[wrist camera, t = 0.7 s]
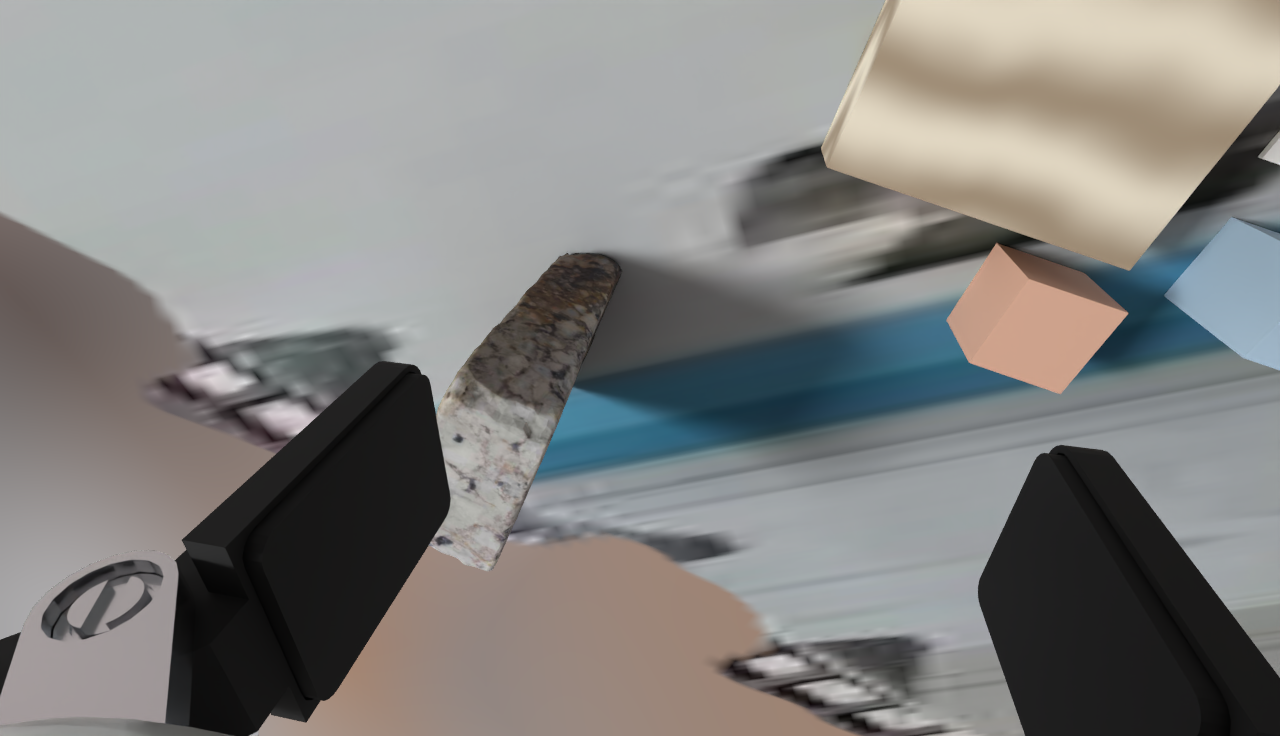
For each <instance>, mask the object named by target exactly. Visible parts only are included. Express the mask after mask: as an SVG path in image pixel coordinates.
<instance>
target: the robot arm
mask: <svg viewBox="0 0 1280 736" xmlns="http://www.w3.org/2000/svg"><path fill="white" fill-rule="evenodd" d="M450 502H451V497H450V490H449V485H448V479H447V474H446V468H445V462H444V457H443V451H442V446H441V440H440V435H439V429H438V424H437V418H436V413H435V407H434V402H433V396H432V391H431V385H430V381H429V379H428V377H427V376H425V375H421V372H420V370H419V369H418V367H417V366H415V365H411V364H402V363H394V362H386V361H381V362H378V363H376V364H375V365H374V366H372V367H371V368H370V369H369V370H368V371H367V372H366V373H365V374H364V375H363V376H361V377H360V378H359V379H358V380H357V381H356V382H355V383H354V384H353V385H352V386H350V387H349V388H348V389H347V390H346V391H345V392H344V393H343V394H342V395H341V396H339V397H338V398H337V399H336V400H335V401H334V402H333V403H332V404H331V405H330V406H328V407H327V408H326V409H325V410H324V411H323V412H322V413H321V414H320V415H319V416H318V417H316V418H315V419H314V420H313V421H312V422H311V423H310V424H309V425H308V426H307V427H305V428H304V429H303V430H302V431H301V432H300V433H299V434H298V435H297V436H296V437H294V438H293V439H292V440H291V441H290V442H289V443H288V444H287V445H286V446H285V447H283V448H282V449H281V450H280V451H279V452H278V453H277V454H276V455H275V456H274V457H273V458H271V459H270V460H269V461H268V462H267V463H266V464H265V465H264V466H263V467H261V468H260V469H259V470H258V471H257V472H256V473H255V474H254V475H253V476H252V477H250V479H248V480H247V481H246V482H245V483H244V484H243V485H242V486H241V487H240V488H238V489H237V490H236V491H235V492H234V493H233V494H232V495H231V496H230V497H229V498H227V499H226V500H225V501H224V502H223V503H222V504H221V505H220V506H219V507H217V509H215V510H214V511H213V512H212V513H211V514H210V515H209V516H208V517H207V518H205V520H203V521H202V522H201V523H200V524H199V525H198V526H197V527H196V528H194V529H193V530H192V531H191V532H190V533H189V534H188V535H187V536H186V537H185V538H183V539H182V541H183V543H184V545H185V547H186V549H187V550H186V551H185V552H184V553H182V554H181V555H180V556H179V557H178V558H177V559H176V560H175V561H174V560H173V559H172V558H171V557H170V556H169V555H168V554H165V553H161V552H157V551H154V550H149V551H148V550H144V551H131V552H126V553H122V554H117V555H113V556H110V557H107V558H105V559H102V560H100V561H97V562H94V563H92V564H89V565H88V566H86V567H84V568H82V569H80V570H79V571H77V572H75V573H73V574H71V575H69V576H68V577H66V578H65V579H64V580H62V581H61V582H60V583H58V584H57V585H56V586H54V587H53V588H51V589H50V590H49V591H48V592H47V593H46V594H45V595H44V596H43V597H42V598H41V599H40V600H39V601H38V602H37V603H36V604H35V606H34V607H33V608H32V610H31V611H30V613H29V615H28V617H27V619H26V621H25V623H24V625H23V628H22V631H21V632H20V633H17V634H15V635H12V636H9V637H6V638H4V639H1V640H0V736H258V730H259V728H260V727H261V725H262V724H263V723H264V721H265V720H266V718H267V717H268V716H269V714H270V713H271V715H274V716H279V717H283V718H288V719H292V720H297V721H302V722H307V721H308V719H309V718H310V716H311V714H312V713H313V711H314V710H315V708H316V707H317V705H318V704H319V702H320V700H323V701H325V700H327V699H329V698H330V697H331V696H332V695H334V693H335V692H336V691H337V689H338V688H339V686H340V685H341V683H342V681H343V680H344V678H345V677H346V675H347V674H348V672H349V670H350V669H351V667H352V666H353V664H354V662H355V661H356V659H357V658H358V656H359V655H360V653H361V651H362V650H363V648H364V647H365V645H366V644H367V642H368V640H369V639H370V637H371V636H372V634H373V632H374V631H375V629H376V628H377V626H378V625H379V623H380V621H381V620H382V618H383V617H384V615H385V613H386V612H387V610H388V608H389V607H390V606H391V604H392V602H393V601H394V599H395V598H396V596H397V594H398V593H399V591H400V590H401V588H402V587H403V585H404V583H405V582H406V580H407V579H408V577H409V576H410V574H411V572H412V571H413V569H414V568H415V566H416V564H417V563H418V561H419V560H420V558H421V557H422V555H423V553H424V552H425V550H426V549H427V547H428V546H429V544H430V542H431V541H432V539H433V538H434V536H435V534H436V533H437V531H438V530H439V528H440V527H441V525H442V523H443V522H444V520H445V519H446V517H447V515H448V512H449V508H450ZM978 598H979V603H980V607H981V610H982V612H983V615H984V618H985V621H986V624H987V627H988V630H989V633H990V635H991V638H992V641H993V644H994V647H995V650H996V653H997V656H998V659H999V661H1000V664H1001V667H1002V670H1003V673H1004V676H1005V679H1006V682H1007V684H1008V687H1009V690H1010V693H1011V696H1012V699H1013V702H1014V705H1015V707H1016V710H1017V713H1018V716H1019V719H1020V722H1021V725H1022V728H1023V730H1024V733H1025V736H1280V678H1279V676H1278V675H1277V674H1276V672H1275V671H1274V670H1273V668H1272V667H1271V666H1270V664H1269V663H1268V662H1267V660H1266V659H1265V658H1264V656H1263V655H1262V654H1261V652H1260V651H1259V650H1258V648H1257V647H1256V646H1255V644H1254V643H1253V642H1252V640H1251V639H1250V638H1249V636H1248V635H1247V634H1246V632H1245V631H1244V630H1243V628H1242V627H1241V626H1240V625H1239V623H1238V622H1237V621H1236V619H1235V618H1234V617H1233V615H1232V614H1231V613H1230V611H1229V610H1228V609H1227V607H1226V606H1225V605H1224V603H1223V602H1222V601H1221V599H1220V598H1219V597H1218V595H1217V594H1216V593H1215V591H1214V590H1213V589H1212V587H1211V586H1210V585H1209V583H1208V582H1207V581H1206V579H1205V578H1204V577H1203V575H1202V574H1201V573H1200V572H1199V570H1198V569H1197V568H1196V566H1195V565H1194V564H1193V562H1192V561H1191V560H1190V558H1189V557H1188V556H1187V554H1186V553H1185V552H1184V550H1183V549H1182V548H1181V546H1180V545H1179V544H1178V542H1177V541H1176V540H1175V538H1174V537H1173V536H1172V534H1171V533H1170V532H1169V530H1168V529H1167V528H1166V526H1165V525H1164V524H1163V522H1162V521H1161V520H1160V519H1159V517H1158V516H1157V515H1156V513H1155V512H1154V511H1153V509H1152V508H1151V507H1150V505H1149V504H1148V503H1147V501H1146V500H1145V499H1144V497H1143V496H1142V495H1141V493H1140V492H1139V491H1138V489H1137V488H1136V487H1135V485H1134V484H1133V483H1132V481H1131V480H1130V479H1129V477H1128V476H1127V475H1126V473H1125V472H1124V471H1123V469H1122V468H1121V467H1120V466H1119V464H1118V463H1117V462H1116V460H1115V459H1114V458H1113V456H1112V455H1110V454H1109V453H1108V452H1106V451H1103V450H1097V449H1089V448H1081V447H1073V446H1065V445H1059V446H1056V447H1054V448H1053V449H1052V450H1051V451H1050V453H1049V454H1047V453H1043V454H1040V455H1039V456H1038V457H1037V458H1036V460H1035V461H1034V463H1033V466H1032V468H1031V470H1030V472H1029V474H1028V476H1027V479H1026V481H1025V483H1024V485H1023V487H1022V489H1021V491H1020V494H1019V496H1018V498H1017V500H1016V502H1015V504H1014V506H1013V509H1012V511H1011V513H1010V515H1009V517H1008V519H1007V522H1006V524H1005V526H1004V528H1003V530H1002V532H1001V534H1000V537H999V539H998V541H997V543H996V545H995V547H994V549H993V552H992V554H991V556H990V558H989V560H988V562H987V565H986V567H985V569H984V571H983V573H982V575H981V577H980V580H979V585H978Z"/></svg>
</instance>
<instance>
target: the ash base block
mask: <svg viewBox="0 0 1280 736" xmlns="http://www.w3.org/2000/svg"><path fill="white" fill-rule="evenodd" d="M1279 85H1280V0H886V1H885V3H884V5H883V8H882V10H881V12H880V14H879V17H878V19H877V21H876V24H875V26H874V28H873V30H872V33H871V35H870V37H869V40H868V42H867V44H866V46H865V49H864V51H863V53H862V56H861V58H860V60H859V63H858V65H857V67H856V69H855V72H854V74H853V76H852V79H851V81H850V83H849V85H848V88H847V90H846V92H845V95H844V97H843V99H842V101H841V104H840V106H839V108H838V111H837V113H836V115H835V117H834V120H833V122H832V124H831V127H830V129H829V131H828V133H827V136H826V138H825V140H824V143H823V145H822V147H821V150H822V153H823V156H824V160H825V163H826V166H827V168H830V169H833V170H836V171H839V172H842V173H845V174H848V175H851V176H853V177H856V178H859V179H862V180H865V181H868V182H871V183H874V184H877V185H880V186H883V187H886V188H889V189H892V190H894V191H897V192H900V193H903V194H906V195H909V196H912V197H915V198H918V199H921V200H924V201H927V202H930V203H933V204H935V205H938V206H941V207H944V208H947V209H950V210H953V211H956V212H959V213H962V214H965V215H968V216H971V217H974V218H976V219H979V220H982V221H985V222H988V223H991V224H994V225H997V226H1000V227H1003V228H1006V229H1009V230H1012V231H1015V232H1017V233H1020V234H1023V235H1026V236H1029V237H1032V238H1035V239H1038V240H1041V241H1044V242H1047V243H1050V244H1053V245H1056V246H1058V247H1061V248H1064V249H1067V250H1070V251H1073V252H1076V253H1079V254H1082V255H1085V256H1088V257H1091V258H1094V259H1097V260H1099V261H1102V262H1105V263H1108V264H1111V265H1114V266H1117V267H1120V268H1123V269H1126V270H1129V271H1130V269H1131V268H1132V267H1133V266H1134V264H1135V263H1136V262H1137V261H1138V260H1139V258H1140V257H1141V256H1142V255H1143V253H1144V252H1145V251H1146V250H1147V248H1148V247H1149V246H1150V245H1151V243H1152V242H1153V241H1154V240H1155V239H1156V237H1157V236H1158V235H1159V234H1160V232H1161V231H1162V230H1163V229H1164V227H1165V226H1166V225H1167V224H1168V222H1169V221H1170V220H1171V219H1172V218H1173V216H1174V215H1175V214H1176V213H1177V211H1178V210H1179V209H1180V208H1181V206H1182V205H1183V204H1184V203H1185V201H1186V200H1187V199H1188V198H1189V196H1190V195H1191V194H1192V193H1193V192H1194V190H1195V189H1196V188H1197V187H1198V185H1199V184H1200V183H1201V182H1202V180H1203V179H1204V178H1205V177H1206V175H1207V174H1208V173H1209V172H1210V171H1211V169H1212V168H1213V167H1214V166H1215V164H1216V163H1217V162H1218V161H1219V159H1220V158H1221V157H1222V156H1223V154H1224V153H1225V152H1226V151H1227V149H1228V148H1229V147H1230V146H1231V145H1232V143H1233V142H1234V141H1235V140H1236V138H1237V137H1238V136H1239V135H1240V133H1241V132H1242V131H1243V130H1244V128H1245V127H1246V126H1247V125H1248V124H1249V122H1250V121H1251V120H1252V119H1253V117H1254V116H1255V115H1256V114H1257V112H1258V111H1259V110H1260V109H1261V107H1262V106H1263V105H1264V104H1265V102H1266V101H1267V100H1268V99H1269V98H1270V96H1271V95H1272V94H1273V93H1274V91H1275V90H1276V89H1277V88H1278V86H1279Z"/></svg>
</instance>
